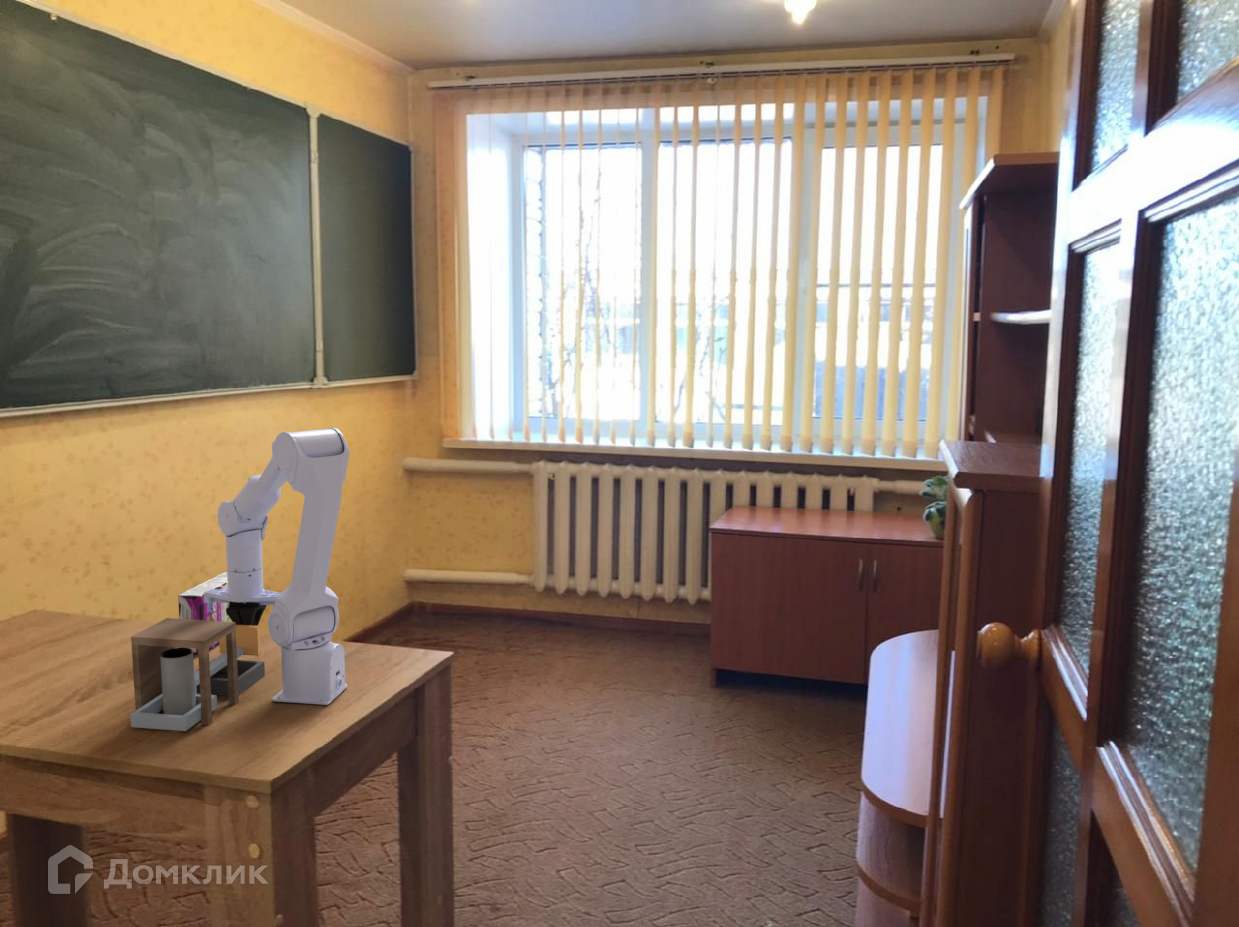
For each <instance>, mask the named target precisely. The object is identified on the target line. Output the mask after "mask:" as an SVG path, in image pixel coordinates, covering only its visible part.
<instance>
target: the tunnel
mask: <svg viewBox="0 0 1239 927" xmlns="http://www.w3.org/2000/svg"><path fill="white" fill-rule="evenodd" d="M225 636H226V646H227V668H228V691H229V695H228V705H236V704H237V703H239V701H240V695H239V691H238V668H237V660H238V658H237V645H236V622H223V621H206V620H190V619H179V618H170V617H167V618H164V619H162V620H161V621H158V622H156V623H154V624H153V625H151V626H149V627H146V629H143V630H141V631H140V632H137V633H136V634H134V635H132V636H130V638H131V639H130V641H131V657H132V659H131V661H132V671H133V673H132V674H133V676H132V677H133V688H134V689H133V691H134V707H135V708H134V709H135V711H136V710H138V709H139V708H141V707H142V706H144V705H145V704H147V703H148V702H150V701H151V700H153V699H155V698H156V697H158V696H159V695H161V694H162V678H161V661H160V654H161V653H162V652H164V651H166V650H169V649H173V648H196V649H198V654H197V655H198V659H197V660H198V669H199V679H200V693H199V694H200V699H201V725H202V726H209V725H210V724H212V723H213V711H212V703H211V695H212V694H211V682H210V650H209V646H210V645H212V644H213V643H215V642H217V641H218V640H220V639H221V638H223V637H225Z"/></svg>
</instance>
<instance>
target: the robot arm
mask: <svg viewBox="0 0 1239 927" xmlns="http://www.w3.org/2000/svg"><path fill="white" fill-rule="evenodd" d="M271 452H272V453H271V455H272V457H271V458H270V460H269V461H268V464H267V465H266V466H265V468H264V469H263V472H262V473H261V474H256V475H250V476H249V477H248V479H247V482H246V483H245V485H244V486H243V487H242V488H241V490H240V491H238V492H239V493H238V494H237V495H236V496H235V497H234V499H232V500H225V501H222V502H221V503H220V505H219V507H218V509H217V522H218V523H217V524H218V527H219V529H220V531H221V532H222V533H223V534H224V535H225V554H226V556H225V557H226V572H227V579H228V589H209V590H207V591H205V592H204V603H211V602H221V603H229V607H228V608H226V613H227V615H228V616H229V617H230V619H231V620H232V622H236V625H252V626H259V623H260V621H261V619H262V615H263V614H264V611H265V610H266V608H267V606H273V607H272V610H271V611H270V613H269V615H268V618H267V628H268V632H269V636H270V638H271V640H272V641H273V642H274V643H275V644H277V645H278V646H279V647H281V649H280V650H281V651H280V652H281V674H282V675H281V676H282V677H281V678H282V690H280V691H279V692H278V693H277V694H276V695H274V696H273V697H272V699H271V700H272V702H276V703H280V702H281V703H295V704H307V705H319V706H320V705H323V706H327V705H329V704H331V703H332V702H333V701H334V700H335V699H336V698H337V697H339V696H340V694H341V693H342V692H343V691H345V690H346V689H347V687H348V684H347V683H346V654H345V649H344V645H342V644H340V643H335V642H333V641H331V640H332V639H333V637H332V636H333V635H332V634H333V633H335V632H336V630H337V629H338V626H339V622H340V613H339V606H338V604H339V597H338V596H337V595H336V593H335V592H334V591H333V590H332V589H331V588H330V587H328V586H327V583H328V578H329V571H330V565H331V559H332V555H333V548H334V543H335V536H336V531H337V525H338V520H339V514H340V508H341V502H342V498H343V497H342V495H343V484H345V482H346V477H347V471H348V470H347V469H348V465H349V460H350V459H349V458H350V454H351V450H350V448H349V445H348V442H347V441H346V437H345V436H344V434H343V433H342V432H341V430H339V428H336V427H328V428H326V429H325V428H324V429H315V430H314V429H311V430H301V431H290V432H289V431H282V432H280V433H278V434H277V436H276V437H275V439H274V441H272V442H271ZM287 482H288V484H289V485H290V487H291V489H292V490H293V491H295V492H298V493H300V494H303V496H304V498H303V506H302V513H301V518H300V519H301V520H300V525H299V531H298V532H299V533H298V538H297V545H296V549H295V550H296V551H295V557H294V564H293V568H292V569H293V570H292V574H291V580H290V581H291V583H290V585H288V586H287V587H286V588H285V589H284V590H283V591H282V592H279V591H278V592H277V591H273V590H267V589H264V574H263V573H264V569H263V545H262V541H265V537H266V536H265V535H266V533H265V532H266V528H267V525H268V522H269V516H268V514H269V513H270V512H271V510H272V509H273V508H274V507H275V506H276V504H277V503H278V502H279V500H280V498H281V496H282V490H281V488H282V486H284V484H285V483H287Z"/></svg>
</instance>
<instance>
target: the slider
mask: <svg viewBox="0 0 1239 927" xmlns="http://www.w3.org/2000/svg"><path fill="white" fill-rule="evenodd" d="M261 637H262V636H261V625H258V626H252V625H236V645H237V659H238V658H240V657H242V656H252V657H253V656H254V657H256V656H257V657H260V655H262V642H261V640H262V639H261ZM218 646H219V654H220V655H219V656H217V657H216V659H215V658H214V660H213V659H212V660H213V661H212V660H210V661H211V662H210V661H209V662H210V676H212V675H213V674H215V673H216V672H218V671H219V670H221V669H222V668H224V667H225V666H227V646H226V636H225V637H223V638H221V639H220V640H219V645H218ZM196 670H197V671H196ZM196 670H195V671H196V672H195V671H194V678H195V697H196V707H194V708H193V709H192V710H190V711H189V712H187V713H186V714H185V715H183V716H182V715H168V714H164V713H160V712H161V711H162V710H163V696H162V694H161V695H159V696H158V697H156V698H155V699H153V700H151V701H150V702H148V703H147V704H145V705H144V706H142V707H141V708H139V709H138V710H136V709H135V711H133V712H132V713H130V714H129V716H130V727H131V728H137V729H138V728H140V729H151V730H152V729H153V730H165V731H166V730H167V731H179V732H181V731H182V732H186V731H188V730H189V729H190V728H192V727H193V726H195V725H196V724H197V723H199V722H200V721H202V719H201V699H200V693H197V689H196V686H197V685H199V684H200V679H199V670H198V669H196ZM217 697H218V696H217V695H215V694H211V703H212V712H213V711H214V710H216V709H217V708H218V698H217Z"/></svg>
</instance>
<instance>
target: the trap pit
mask: <svg viewBox="0 0 1239 927" xmlns="http://www.w3.org/2000/svg"><path fill="white" fill-rule="evenodd" d="M216 658H217V657H216ZM216 658H214V659H216ZM214 659H212V660H209V662H211V661H213V660H214ZM237 668H238V691H239V696H240V695H242V694H243V693H244V692H245V691H246V690H248V689H249V688H250V687H252V686H254V684H256V683H257V682H259V681H260V680H261V679H263V678H264V677H265V676H266V670H265V669H266V668H265V661H262V660H261V661H259V660H258V661H257V660H246V659H245V660H242V659H237ZM197 670H199V668H198V669H196V670H194V672H196V671H197ZM210 682H211V695H219V696H229V691H228V668H227V666H225V667H224V668H222V669H221V670H219V671H218V672H216V673H215V674H213V675H212V676H210ZM196 689H197V694H200V684H199V685H197V686H196Z"/></svg>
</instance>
